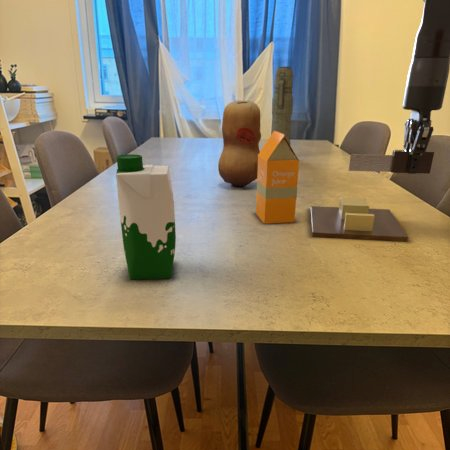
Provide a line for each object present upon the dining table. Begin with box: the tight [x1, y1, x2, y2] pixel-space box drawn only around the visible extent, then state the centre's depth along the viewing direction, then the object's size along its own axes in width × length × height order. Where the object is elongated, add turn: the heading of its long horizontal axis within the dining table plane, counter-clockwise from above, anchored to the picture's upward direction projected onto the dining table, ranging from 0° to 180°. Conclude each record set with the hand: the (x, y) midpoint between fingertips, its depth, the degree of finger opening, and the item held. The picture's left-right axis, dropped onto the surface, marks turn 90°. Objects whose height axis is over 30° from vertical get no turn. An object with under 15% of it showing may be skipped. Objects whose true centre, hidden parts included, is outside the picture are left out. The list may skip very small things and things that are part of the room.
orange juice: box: [255, 131, 300, 225], centre depth 103 cm, size 8×9×20 cm
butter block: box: [338, 196, 370, 219], centre depth 106 cm, size 6×8×4 cm
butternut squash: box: [217, 100, 262, 187], centre depth 134 cm, size 14×13×25 cm
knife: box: [348, 149, 435, 175], centre depth 94 cm, size 17×2×4 cm, turn 82°
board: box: [310, 205, 409, 243], centre depth 103 cm, size 20×22×1 cm
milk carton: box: [115, 153, 177, 280], centre depth 73 cm, size 9×9×20 cm
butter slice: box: [344, 213, 375, 231], centre depth 95 cm, size 6×2×4 cm, turn 81°
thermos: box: [271, 66, 294, 145], centre depth 184 cm, size 9×12×35 cm
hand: (409, 171), depth 95 cm, fingers closed on knife, 2 cm apart
